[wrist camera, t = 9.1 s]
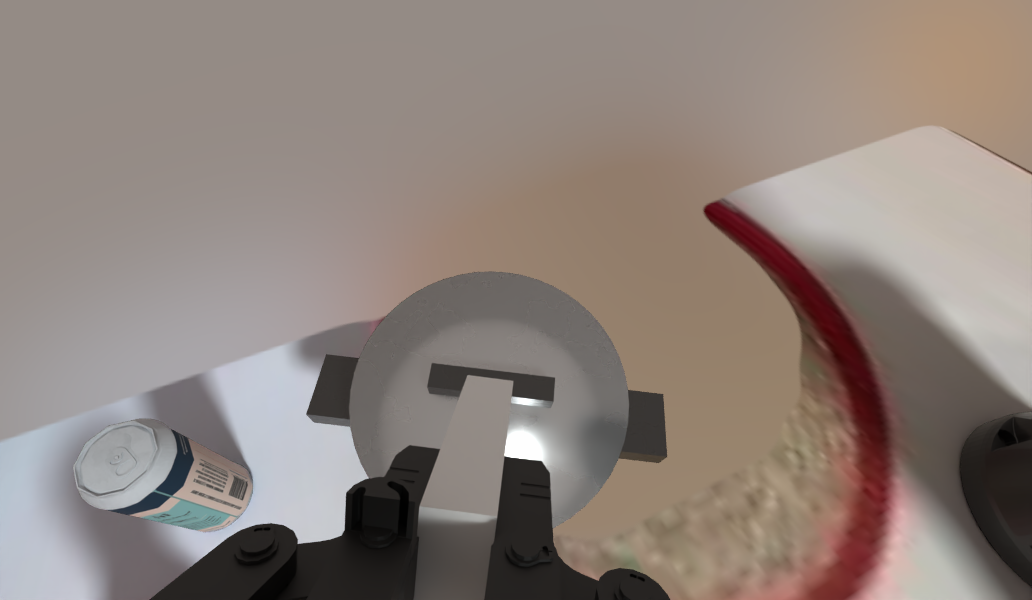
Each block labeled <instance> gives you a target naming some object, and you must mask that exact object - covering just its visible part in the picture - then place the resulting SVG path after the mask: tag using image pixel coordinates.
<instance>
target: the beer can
mask: <svg viewBox="0 0 1032 600" xmlns="http://www.w3.org/2000/svg"><path fill="white" fill-rule="evenodd" d="M73 470H74V475H75V481H76V486H77V489H78V491H79V493H80V495H81V497H82V498H83V499H84V500H85V501H86V502H87V503H88V504H89V505H91V506H93V507H95V508H99V509H104V510H108V511H113V512H117V513H122V514H126V515H131V516H135V517H139V518H144V519H148V520H153V521H157V522H162V523H166V524H171V525H175V526H179V527H184V528H188V529H193V530H197V531H202V532H212V531H217V530H221V529H223V528H225V527H227V526H229V525H231V524H232V523H233V522H234V521H236V520H237V519H238V518H239V517H240V516H241V515H242V514H243V512H244V511H245V510H246V508H247V506H248V505H249V502H250V500H251V496H252V493H253V482H252V478H251V476H250V473H249V472H248V471H247V469H246V468H244V467H243V466H242V465H240V464H238V463H234V462H232V461H230V460H228V459H226V458H224V457H222V456H221V455H219V454H217V453H215V452H213V451H211V450H209V449H207V448H206V447H204V446H202V445H200V444H198V443H196V442H194V441H192V440H191V439H189V438H187V437H185V436H183V435H181V434H179V433H177V432H175V431H174V430H172V429H170V428H169V427H168V426H166V425H165V424H164V423H162V422H159V421H157V420H153V419H136V420H131V421H127V422H123V423H119V424H114V425H109V426H107V427H106V428H105V429H103V430H102V431H101V432H99V433H98V434H97V435H95V436H94V437H93V438H91V439H90V440H89V441H87V442H86V443H85V445H84V447H83V449H82V451H81V453H80V454H79V456H78V458H77V460H76V462H75V464H74V466H73Z"/></svg>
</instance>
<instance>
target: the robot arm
mask: <svg viewBox="0 0 1032 600" xmlns="http://www.w3.org/2000/svg"><path fill="white" fill-rule="evenodd" d="M512 389H513V381H510V380H502V379H495V378H487V377H479V376H471V375H467V378H466V380H465V383H464V386H463V389H462V391H461V394H460V397H459V400H458V402H457V405H456V408H455V411H454V413H453V416H452V419H451V421H450V424H449V427H448V430H447V432H446V435H445V438H444V441H443V443H442V446H441V449H436V448H428V447H421V446H413V445H409V446H407V447H406V448H405V449H403V450H402V451H400V452H399V453H398V454H396V456H395V458H394V460H393V461H392V463H391V465H390V468H389V469H388V471H387V473H386V475H385V477H375V478H370V479H366V480H363V481H361V482H359V483H357V484H355V485H354V486H353V487H352V488H351V489H350V490H349V491H348V492H347V493H346V512H345V531H344V532H343V534H342V536H339V537H337V538H334V539H331V540H326V541H320V542H312V543H303V544H298V539H297V537H296V535H295V533H294V531H292V530H291V529H289V528H287V527H286V526H284V525H278V524H272V523H270V524H260V525H255V526H252V527H249V528H245V529H242V530H240V531H239V532H237V533H235V534H234V535H232V536H230V537H229V538H227V539H226V540H225V541H223V542H222V543H221V544H220V545H218V546H217V547H216V548H214V549H213V550H212V551H211V552H209V553H208V554H207V555H206V556H204V557H203V558H202V559H200V560H199V561H198V562H197V563H195V564H194V565H193V566H192V567H190V568H189V569H188V570H186V571H185V572H184V573H183V574H181V575H180V576H179V577H178V578H176V579H175V580H174V581H173V582H171V583H170V584H169V585H167V586H166V587H165V588H164V589H162V590H161V591H160V592H159V593H157V594H156V595H155V596H153V597H152V598H151V599H150V600H670V598H669V596H668V595H667V594H666V592H665V591H664V590H663V589H662V587H661V586H660V585H659V584H658V583H657V582H655V581H654V580H653V579H651V578H650V577H648V576H647V575H645V574H643V573H640V572H637V571H635V570H632V569H622V568H618V569H614V570H610V571H607V572H606V573H605V574H604V575H602V576H601V577H600V579H599V581H597V580H595V579H592V578H590V577H588V576H585V575H583V574H581V573H579V572H577V571H575V570H573V569H572V568H570V567H569V566H568V565H567V564H565V563H564V562H563V560H562V559H561V558H560V557H559V556H558V554H557V551H556V548H555V547H554V543H553V527H552V505H551V489H550V488H551V483H550V472H549V471H548V470H547V468H546V467H545V465H544V464H543V462H542V461H539V460H531V459H524V458H516V457H508V456H505V448H506V439H507V431H508V423H509V414H510V406H511V398H512ZM961 478H962V484H963V488H964V492H965V495H966V498H967V501H968V504H969V506H970V509H971V511H972V513H973V515H974V517H975V519H976V521H977V523H978V525H979V526H980V528H981V530H982V531H983V533H984V534H985V536H986V537H987V539H988V540H989V542H990V543H991V544H992V546H993V547H994V548H995V550H996V551H997V552H998V553H999V555H1000V556H1001V557H1002V558H1003V559H1004V560H1005V562H1006V563H1007V564H1008V565H1009V566H1010V567H1011V568H1012V569H1013V570H1014V571H1015V572H1016V573H1017V574H1018V575H1019V576H1020V577H1021V578H1022V579H1024V580H1025V581H1026V582H1027V583H1028V584H1029V585H1030V586H1032V412H1023V413H1017V414H1012V415H1009V416H1006V417H1003V418H1000V419H997V420H994V421H991V422H988V423H986V424H984V425H982V426H980V427H979V428H977V429H976V430H975V431H974V432H973V433H972V434H971V435H970V436H969V438H968V439H967V441H966V443H965V445H964V448H963V451H962V456H961Z"/></svg>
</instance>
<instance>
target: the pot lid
mask: <svg viewBox="0 0 1032 600" xmlns="http://www.w3.org/2000/svg"><path fill="white" fill-rule="evenodd" d="M467 375H471V376H479V377H487V378H495V379H502V380H510V381H513V389H512V398H511V406H510V414H509V423H508V431H507V439H506V448H505V456H508V457H516V458H524V459H531V460H539V461H542V462H543V464H544V465H545V467H546V468H547V470H548V471H549V472H550V483H551V488H550V489H551V505H552V527H553V528H554V527H556V526H558V525H560V524H561V523H563V522H564V521H566V520H568V519H570V518H571V517H572V516H573V515H575V514H576V513H577V512H578V511H580V510H581V509H582V508H583V507H585V506H586V505H587V504H588V503H589V502H590V500H591V499H592V498H593V497H594V496H595V495H596V494H597V493H598V492H599V490H600V489H601V488H602V486H603V484H604V483H605V482H606V480H607V479H608V478H609V476H610V475H611V473H612V471H613V468H614V467H615V465H616V463H617V461H618V459H619V456H620V453H621V450H622V447H623V444H624V441H625V436H626V431H627V426H628V415H629V398H628V387H627V383H626V377H625V373H624V369H623V366H622V363H621V361H620V358H619V355H618V353H617V351H616V349H615V347H614V345H613V343H612V341H611V339H610V338H609V336H608V335H607V333H606V332H605V330H604V329H603V327H602V326H601V325H600V323H599V322H598V321H597V320H596V319H595V318H594V316H593V315H592V314H591V313H590V312H589V311H588V310H586V309H585V308H584V307H583V306H582V305H581V304H580V303H579V302H577V301H576V300H575V299H573V298H572V297H570V296H569V295H568V294H566V293H564V292H563V291H561V290H559V289H557V288H555V287H554V286H552V285H549V284H547V283H544V282H542V281H540V280H537V279H534V278H530V277H527V276H523V275H518V274H513V273H505V272H474V273H468V274H462V275H457V276H454V277H450V278H446V279H443V280H441V281H438V282H436V283H433V284H431V285H429V286H427V287H425V288H423V289H421V290H419V291H417V292H416V293H414V294H412V295H411V296H410V297H408V298H407V299H405V300H404V301H403V302H401V303H400V304H399V305H398V306H397V307H396V308H394V309H393V310H392V311H391V312H390V313H389V314H388V315H387V316H386V317H385V318H384V320H383V321H382V322H381V323H380V324H379V325H378V326H377V328H376V329H375V331H374V332H373V334H372V335H371V337H370V338H369V340H368V341H367V343H366V345H365V347H364V349H363V351H362V353H361V355H360V358H359V360H358V363H357V366H356V369H355V372H354V376H353V381H352V385H351V390H350V404H349V413H350V427H351V432H352V437H353V442H354V446H355V449H356V451H357V454H358V457H359V459H360V462H361V464H362V466H363V468H364V470H365V472H366V474H367V475H368V477H369V479H370V478H375V477H385V475H386V473H387V471H388V469H389V468H390V465H391V463H392V461H393V460H394V458H395V456H396V454H398V453H399V452H400V451H402V450H403V449H405V448H406V447H407V446H409V445H413V446H421V447H428V448H436V449H441V446H442V443H443V441H444V438H445V435H446V432H447V430H448V427H449V424H450V421H451V419H452V416H453V413H454V411H455V408H456V405H457V402H458V400H459V397H460V394H461V391H462V389H463V386H464V383H465V380H466V378H467Z"/></svg>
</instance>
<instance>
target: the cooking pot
mask: <svg viewBox="0 0 1032 600" xmlns="http://www.w3.org/2000/svg"><path fill="white" fill-rule="evenodd" d="M358 360H359V358H351V357H343V356H334V355H326V357H325V360H324V363H323V366H322V369H321V372H320V375H319V378H318V381H317V384H316V387H315V390H314V393H313V396H312V399H311V402H310V405H309V408H308V411H307V414H306V415H307V416H308V417H309V418H310V419H311V420H312V421H313V422H315V423H323V424H332V425H340V426H349V427H350V413H349V404H350V390H351V385H352V381H353V376H354V372H355V369H356V366H357V363H358ZM628 398H629V415H628V426H627V431H626V436H625V441H624V444H623V447H622V450H621V453H620V456H619V458H621V459H629V460H639V461H646V462H656V463H659V462H661V461H662V460H663V459H665V458H666V457H667V449H666V432H665V416H664V401H663V394H657V393H649V392H640V391H631V390H628Z"/></svg>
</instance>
